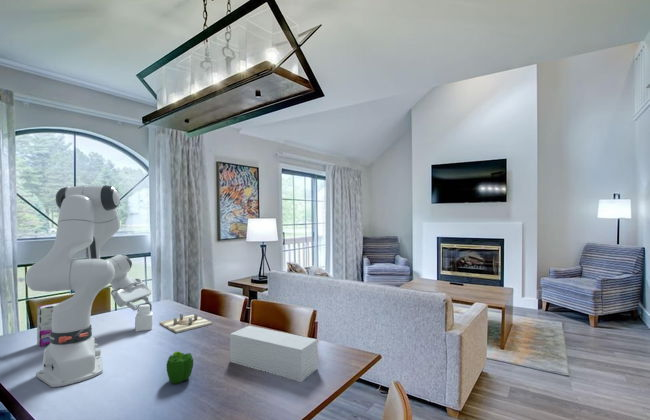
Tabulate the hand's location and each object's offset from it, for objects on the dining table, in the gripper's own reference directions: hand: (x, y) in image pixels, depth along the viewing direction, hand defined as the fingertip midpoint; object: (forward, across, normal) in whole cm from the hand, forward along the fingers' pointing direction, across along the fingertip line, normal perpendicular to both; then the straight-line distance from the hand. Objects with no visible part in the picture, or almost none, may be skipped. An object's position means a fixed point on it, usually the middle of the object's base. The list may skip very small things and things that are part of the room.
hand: (143, 307), depth 159 cm
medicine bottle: (+8, 0, +7) cm, 11 cm away
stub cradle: (+20, +9, -5) cm, 22 cm away
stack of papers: (+60, -31, -45) cm, 82 cm away
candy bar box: (-11, -21, +26) cm, 36 cm away
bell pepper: (+40, -46, -26) cm, 66 cm away
